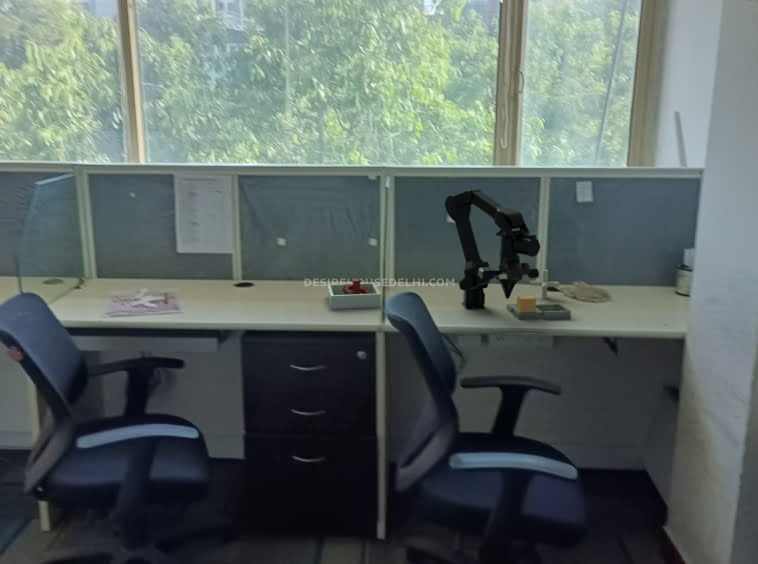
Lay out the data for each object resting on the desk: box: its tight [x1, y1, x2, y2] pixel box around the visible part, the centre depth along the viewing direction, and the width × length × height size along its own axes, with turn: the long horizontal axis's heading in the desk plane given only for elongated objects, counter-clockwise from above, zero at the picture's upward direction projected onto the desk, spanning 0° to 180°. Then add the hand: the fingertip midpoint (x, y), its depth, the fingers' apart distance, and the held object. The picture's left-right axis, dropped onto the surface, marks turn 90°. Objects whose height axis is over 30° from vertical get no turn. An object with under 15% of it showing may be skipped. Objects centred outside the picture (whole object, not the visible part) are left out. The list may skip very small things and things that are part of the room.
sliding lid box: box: [512, 302, 572, 321], centre depth 241 cm, size 17×9×2 cm, turn 98°
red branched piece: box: [343, 277, 371, 295], centre depth 257 cm, size 11×12×8 cm
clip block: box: [516, 294, 537, 312], centre depth 239 cm, size 5×4×4 cm
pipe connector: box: [529, 269, 560, 299], centre depth 261 cm, size 10×10×10 cm
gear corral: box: [326, 282, 382, 310], centre depth 258 cm, size 17×16×4 cm
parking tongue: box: [506, 303, 517, 314], centre depth 247 cm, size 7×5×2 cm
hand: (507, 298), depth 238 cm, fingers closed
